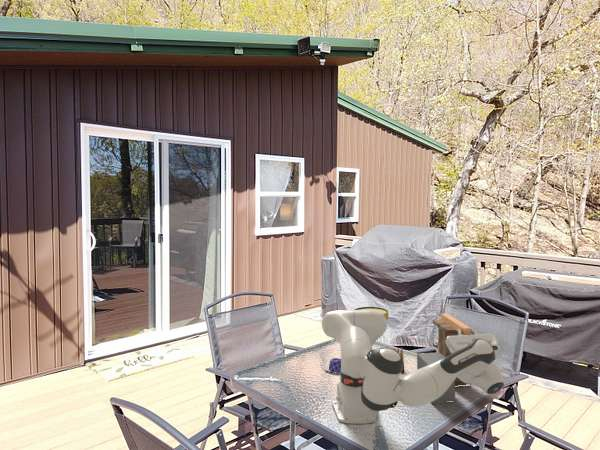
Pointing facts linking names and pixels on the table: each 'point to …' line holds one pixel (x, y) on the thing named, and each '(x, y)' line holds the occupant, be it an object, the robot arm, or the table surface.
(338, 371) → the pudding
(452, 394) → the grey concrete block
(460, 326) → the wooden bar
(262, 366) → the table surface
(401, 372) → the ammunition clip
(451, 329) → the wooden pedestal stand
